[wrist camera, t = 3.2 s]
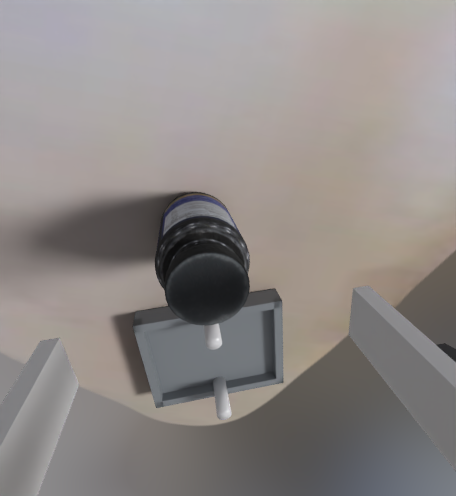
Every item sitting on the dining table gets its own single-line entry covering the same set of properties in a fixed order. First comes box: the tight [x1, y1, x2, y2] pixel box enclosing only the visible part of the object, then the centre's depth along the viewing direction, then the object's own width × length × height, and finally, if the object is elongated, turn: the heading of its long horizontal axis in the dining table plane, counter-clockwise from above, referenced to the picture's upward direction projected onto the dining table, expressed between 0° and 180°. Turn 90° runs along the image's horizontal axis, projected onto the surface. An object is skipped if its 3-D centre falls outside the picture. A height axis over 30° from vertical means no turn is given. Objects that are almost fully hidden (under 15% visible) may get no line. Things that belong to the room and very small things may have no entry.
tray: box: [133, 289, 283, 420], centre depth 29 cm, size 14×11×5 cm
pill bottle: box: [155, 192, 250, 326], centre depth 21 cm, size 6×6×11 cm
